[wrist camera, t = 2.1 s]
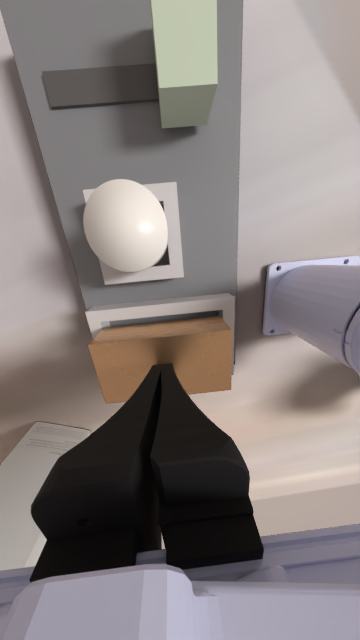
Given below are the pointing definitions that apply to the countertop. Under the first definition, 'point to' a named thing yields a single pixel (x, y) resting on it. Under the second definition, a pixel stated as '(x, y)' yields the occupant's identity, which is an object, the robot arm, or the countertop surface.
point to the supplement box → (29, 490)
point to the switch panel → (134, 152)
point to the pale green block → (185, 59)
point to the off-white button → (125, 225)
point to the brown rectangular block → (163, 355)
